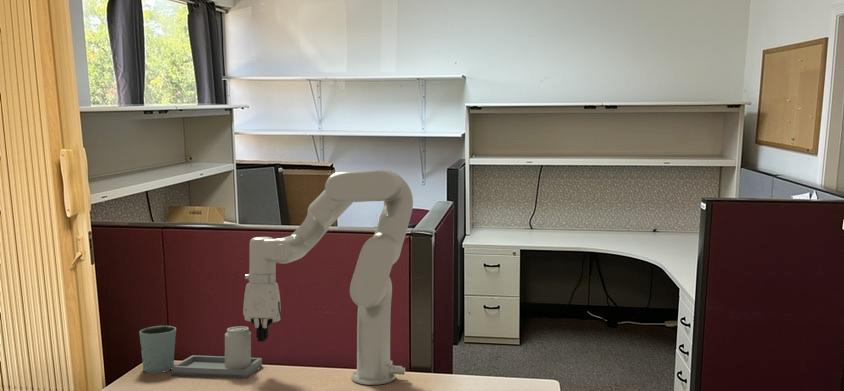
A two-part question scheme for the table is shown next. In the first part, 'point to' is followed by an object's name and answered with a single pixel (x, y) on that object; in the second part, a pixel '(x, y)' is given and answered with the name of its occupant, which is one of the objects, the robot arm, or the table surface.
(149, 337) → the green cup
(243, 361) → the can
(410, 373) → the table surface
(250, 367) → the tray
